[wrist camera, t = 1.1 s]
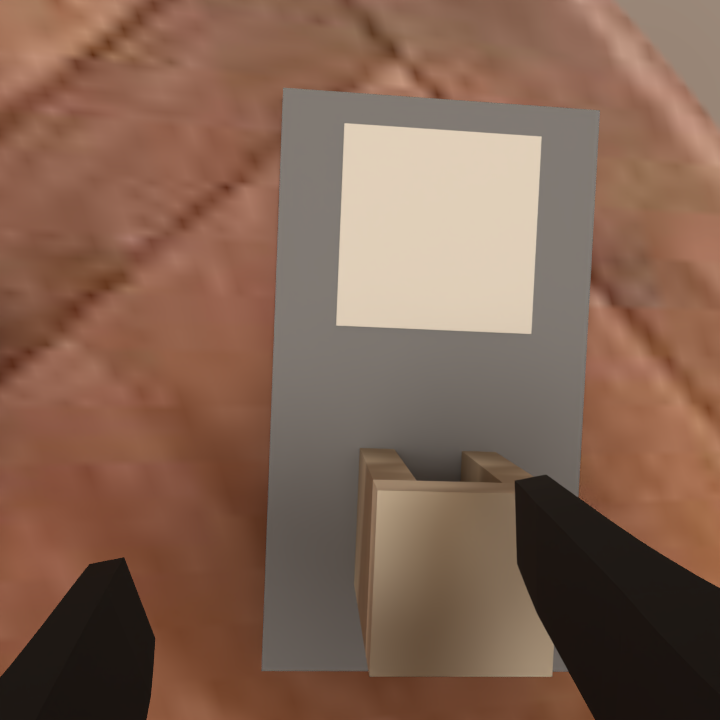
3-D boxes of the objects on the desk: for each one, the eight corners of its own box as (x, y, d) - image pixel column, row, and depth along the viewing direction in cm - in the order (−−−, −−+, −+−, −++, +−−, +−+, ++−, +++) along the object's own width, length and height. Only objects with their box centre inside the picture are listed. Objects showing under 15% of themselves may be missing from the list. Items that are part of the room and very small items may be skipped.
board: (557, 657, 24) (570, 674, 23) (264, 656, 23) (261, 674, 22) (587, 120, 23) (602, 108, 22) (284, 98, 22) (283, 85, 21)
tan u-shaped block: (495, 452, 22) (562, 494, 16) (488, 586, 23) (552, 677, 17) (359, 447, 22) (377, 490, 16) (353, 584, 22) (369, 676, 16)
